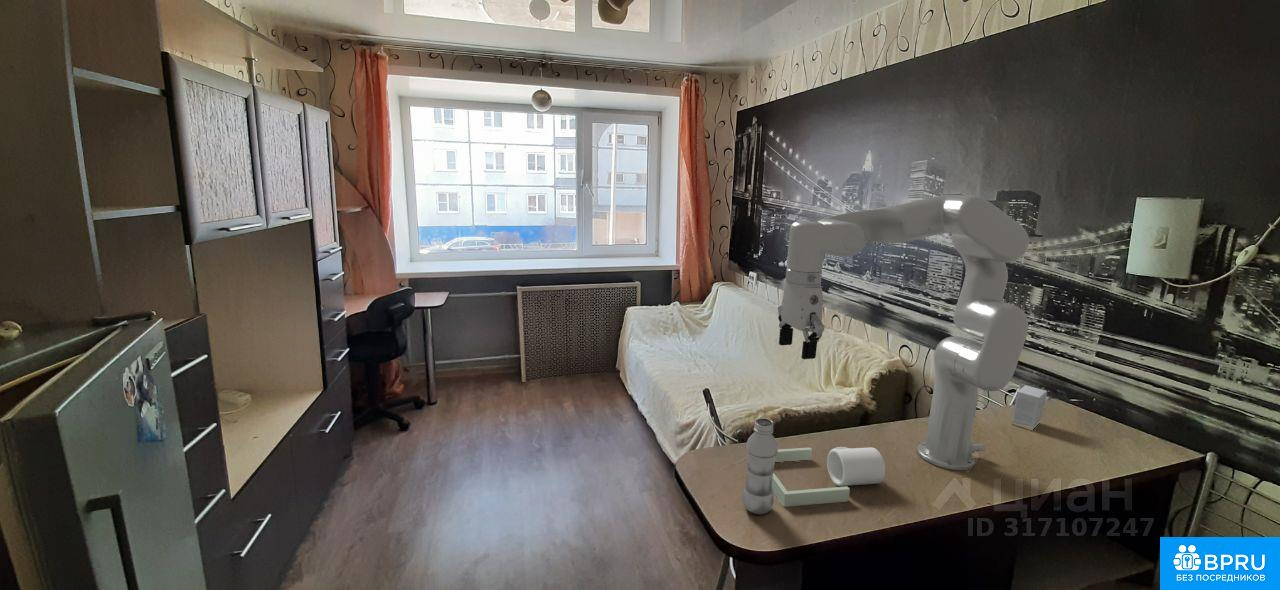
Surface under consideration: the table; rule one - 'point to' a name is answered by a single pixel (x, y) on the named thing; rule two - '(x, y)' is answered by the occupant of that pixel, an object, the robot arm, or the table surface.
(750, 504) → the plastic bottle
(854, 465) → the mug
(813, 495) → the green u-shaped bracket
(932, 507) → the table surface
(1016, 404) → the small box
